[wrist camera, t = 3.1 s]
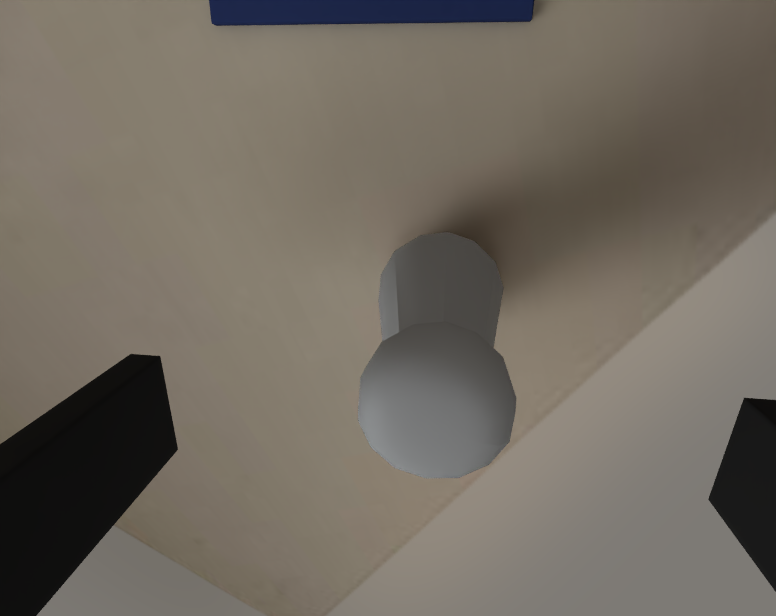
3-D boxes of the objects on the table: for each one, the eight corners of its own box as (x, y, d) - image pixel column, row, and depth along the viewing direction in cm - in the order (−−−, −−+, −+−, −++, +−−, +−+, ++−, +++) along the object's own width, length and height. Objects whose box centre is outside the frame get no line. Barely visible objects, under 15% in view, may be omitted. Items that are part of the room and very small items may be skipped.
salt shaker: (423, 347, 25) (398, 545, 13) (364, 262, 23) (275, 393, 11) (518, 295, 23) (595, 467, 11) (461, 200, 22) (476, 277, 10)
